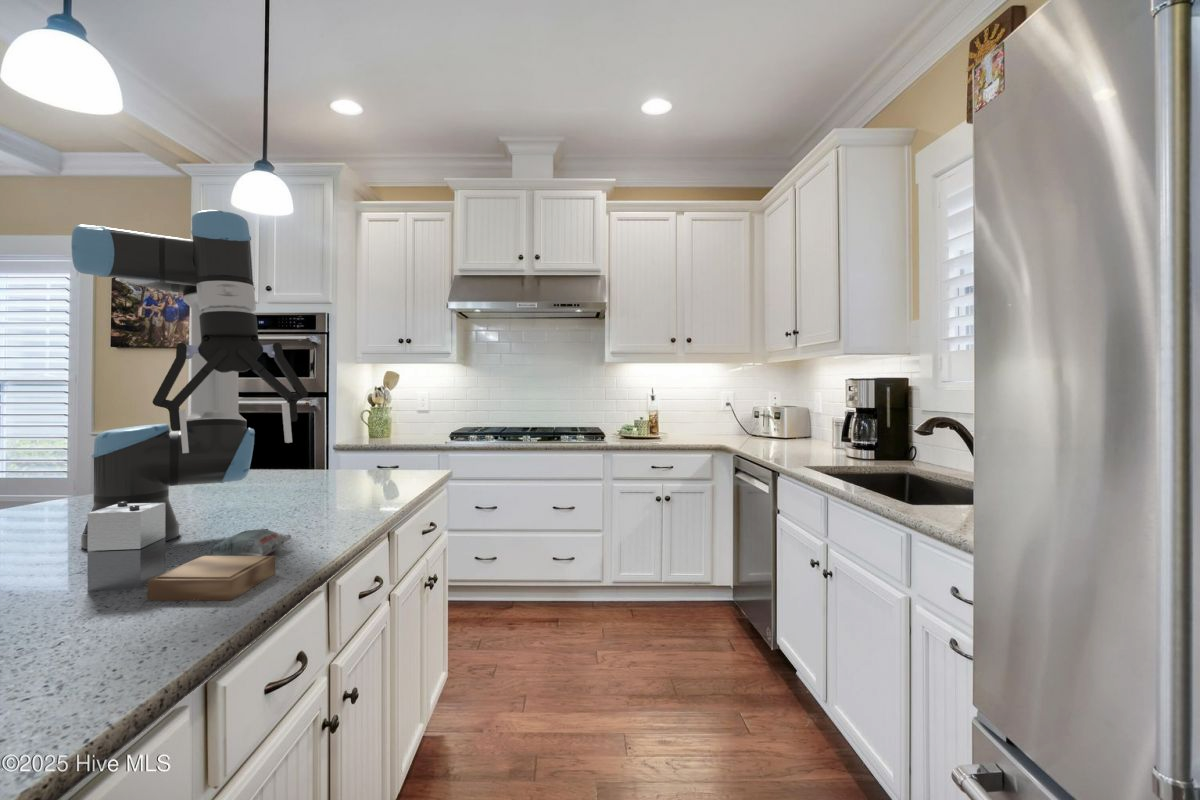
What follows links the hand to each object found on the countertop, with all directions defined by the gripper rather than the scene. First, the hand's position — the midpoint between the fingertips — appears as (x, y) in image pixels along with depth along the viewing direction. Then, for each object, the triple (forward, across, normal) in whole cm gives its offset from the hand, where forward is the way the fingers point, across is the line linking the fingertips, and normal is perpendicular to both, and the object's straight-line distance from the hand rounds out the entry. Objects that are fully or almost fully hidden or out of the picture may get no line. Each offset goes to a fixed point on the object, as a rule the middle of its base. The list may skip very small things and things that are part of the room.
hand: (239, 447), depth 87 cm
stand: (+22, -4, +4) cm, 22 cm away
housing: (+20, -16, +14) cm, 29 cm away
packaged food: (+22, +2, +17) cm, 28 cm away
